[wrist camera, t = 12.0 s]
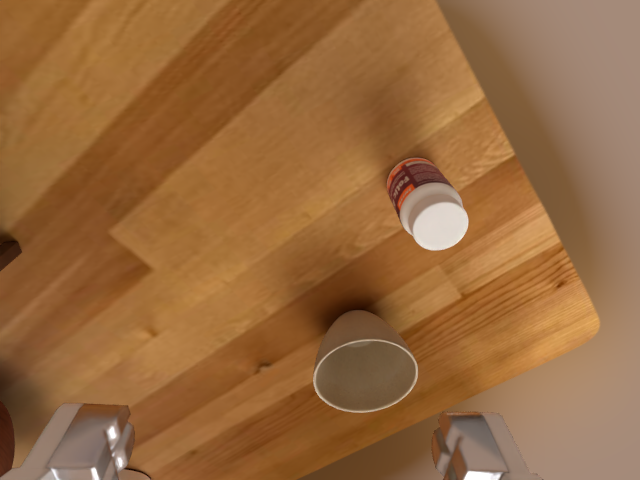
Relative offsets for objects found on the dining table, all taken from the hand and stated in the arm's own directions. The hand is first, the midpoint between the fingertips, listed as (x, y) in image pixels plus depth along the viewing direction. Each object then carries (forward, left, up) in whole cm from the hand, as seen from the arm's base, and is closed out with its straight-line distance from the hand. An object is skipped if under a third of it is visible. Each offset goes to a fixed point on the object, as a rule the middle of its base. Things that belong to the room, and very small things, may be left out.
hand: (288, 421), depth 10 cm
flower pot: (+21, +6, -26) cm, 34 cm away
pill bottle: (+4, +10, -26) cm, 28 cm away
